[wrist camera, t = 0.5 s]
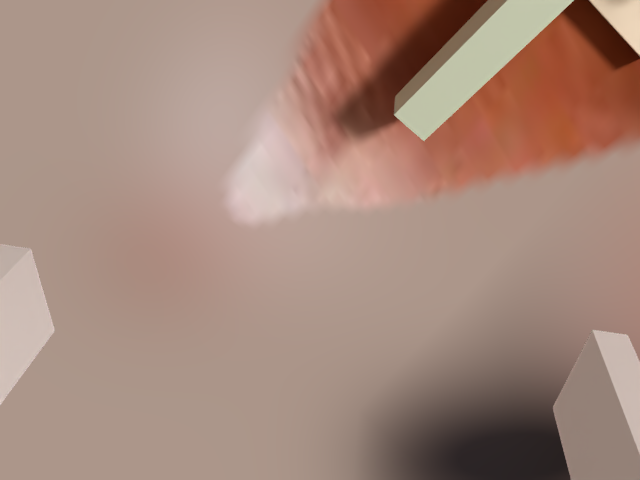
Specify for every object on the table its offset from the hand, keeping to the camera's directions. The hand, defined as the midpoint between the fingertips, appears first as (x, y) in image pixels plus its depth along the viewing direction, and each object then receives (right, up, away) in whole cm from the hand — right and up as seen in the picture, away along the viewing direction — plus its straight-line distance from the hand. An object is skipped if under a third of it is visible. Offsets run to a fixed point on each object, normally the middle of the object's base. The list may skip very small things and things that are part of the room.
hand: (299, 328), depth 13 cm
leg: (+9, +13, +12) cm, 20 cm away
